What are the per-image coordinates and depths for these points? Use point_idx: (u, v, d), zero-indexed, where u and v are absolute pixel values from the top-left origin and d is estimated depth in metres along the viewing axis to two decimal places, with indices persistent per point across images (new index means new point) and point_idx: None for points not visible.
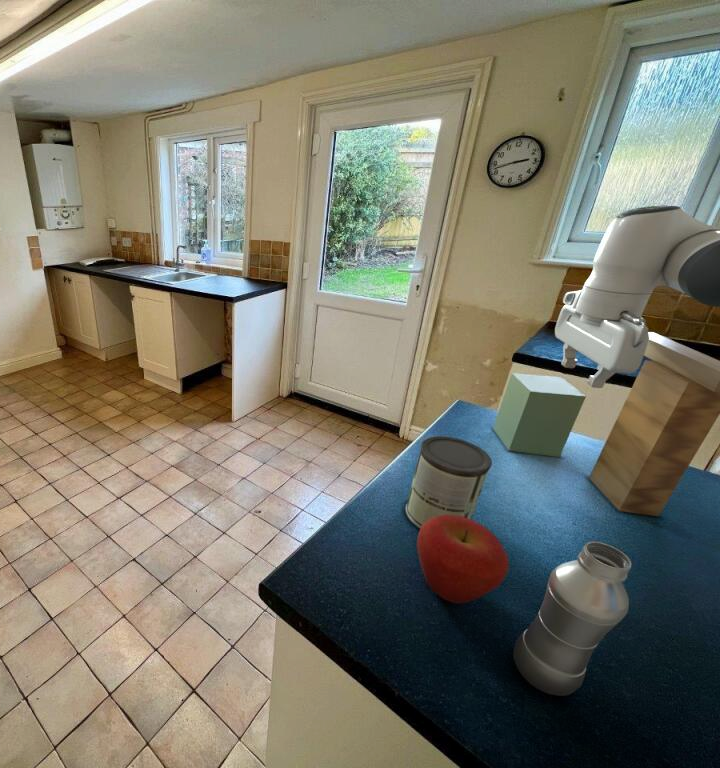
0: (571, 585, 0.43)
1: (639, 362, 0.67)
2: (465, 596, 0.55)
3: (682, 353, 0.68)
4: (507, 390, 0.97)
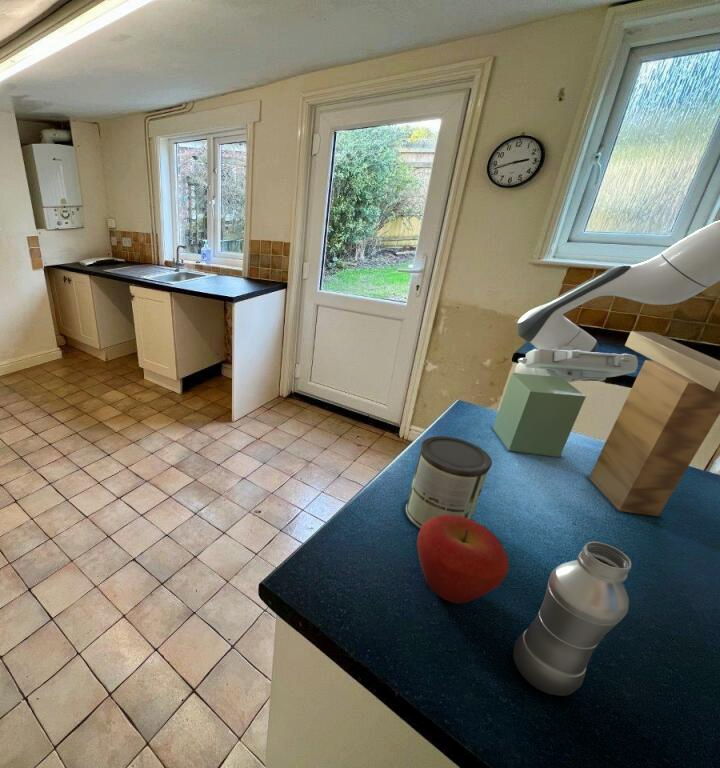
0: (571, 585, 0.43)
1: (531, 351, 0.98)
2: (465, 596, 0.55)
3: (682, 353, 0.68)
4: (507, 390, 0.97)
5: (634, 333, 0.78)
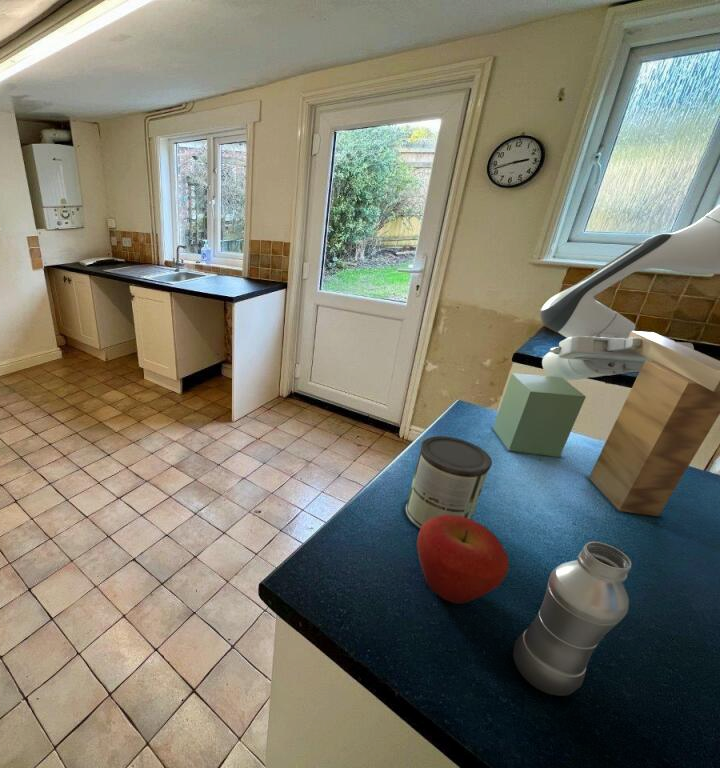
0: (571, 585, 0.43)
1: (567, 339, 0.85)
2: (465, 596, 0.55)
3: (682, 353, 0.68)
4: (507, 390, 0.97)
5: (634, 333, 0.78)
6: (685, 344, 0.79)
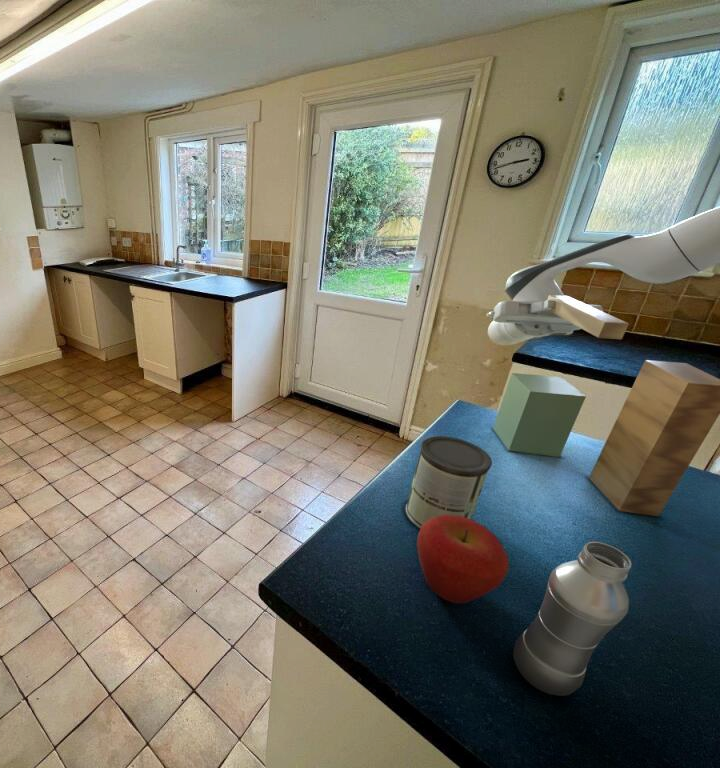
0: (571, 585, 0.43)
1: (498, 304, 0.98)
2: (465, 596, 0.55)
3: (581, 309, 0.81)
4: (507, 390, 0.97)
5: (551, 296, 0.91)
6: (595, 306, 0.91)
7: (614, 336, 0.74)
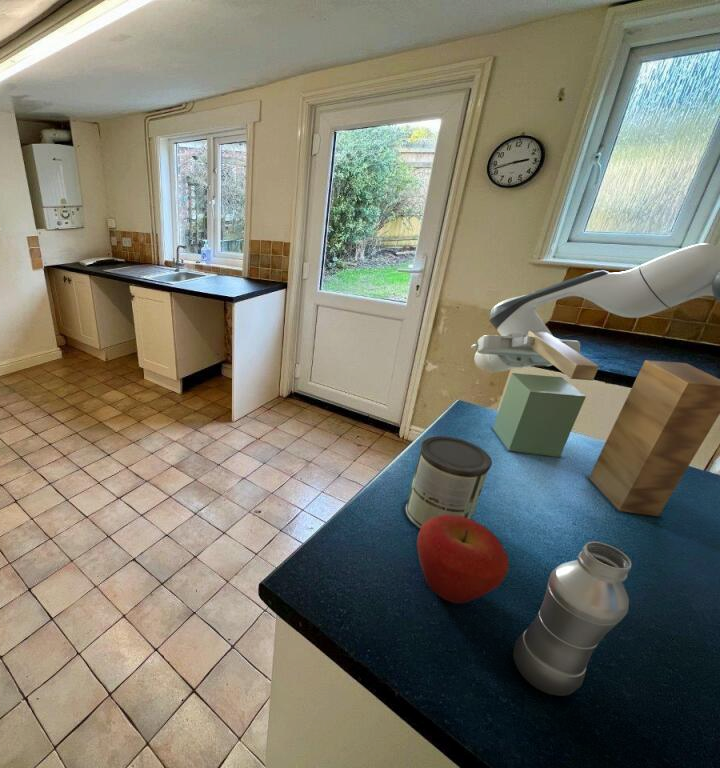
0: (571, 585, 0.43)
1: (481, 337, 1.02)
2: (465, 596, 0.55)
3: (556, 349, 0.86)
4: (507, 390, 0.97)
5: (530, 332, 0.96)
6: (573, 341, 0.96)
7: (585, 378, 0.79)
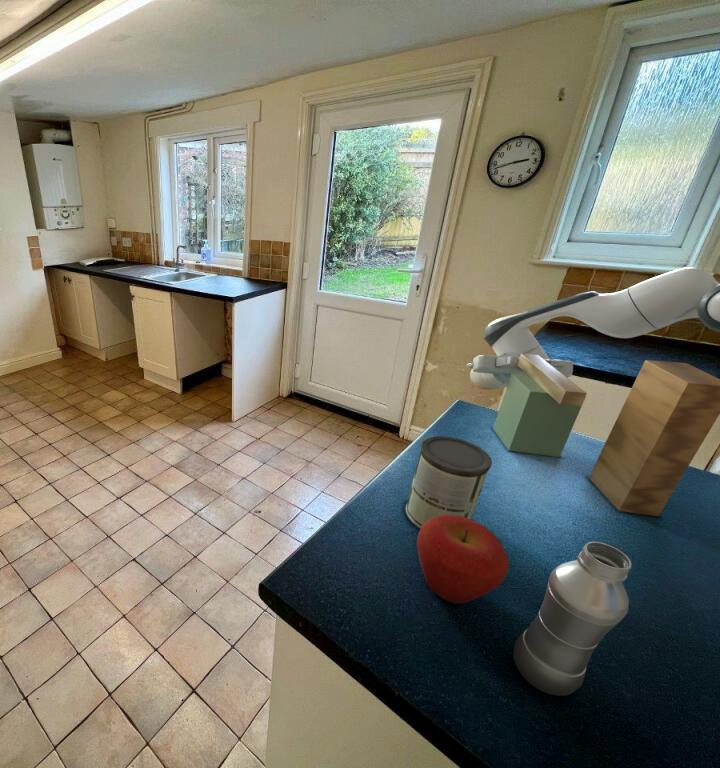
0: (571, 585, 0.43)
1: (476, 357, 1.04)
2: (465, 596, 0.55)
3: (546, 373, 0.88)
4: (507, 390, 0.97)
5: (522, 355, 0.98)
6: (565, 362, 0.98)
7: (574, 404, 0.81)
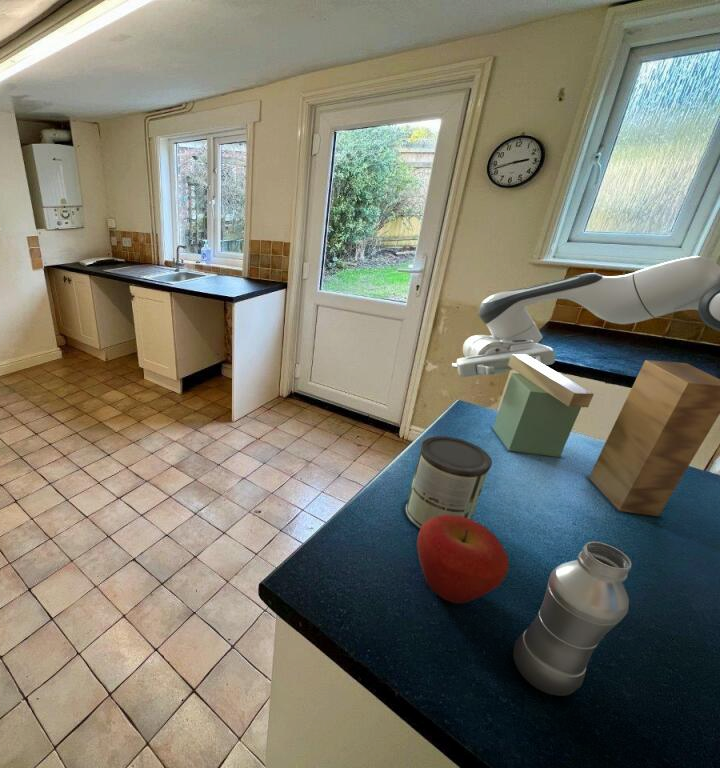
0: (571, 585, 0.43)
1: (457, 364, 1.07)
2: (465, 596, 0.55)
3: (546, 375, 0.87)
4: (507, 390, 0.97)
5: (513, 356, 0.98)
6: (546, 352, 0.99)
7: (581, 405, 0.80)
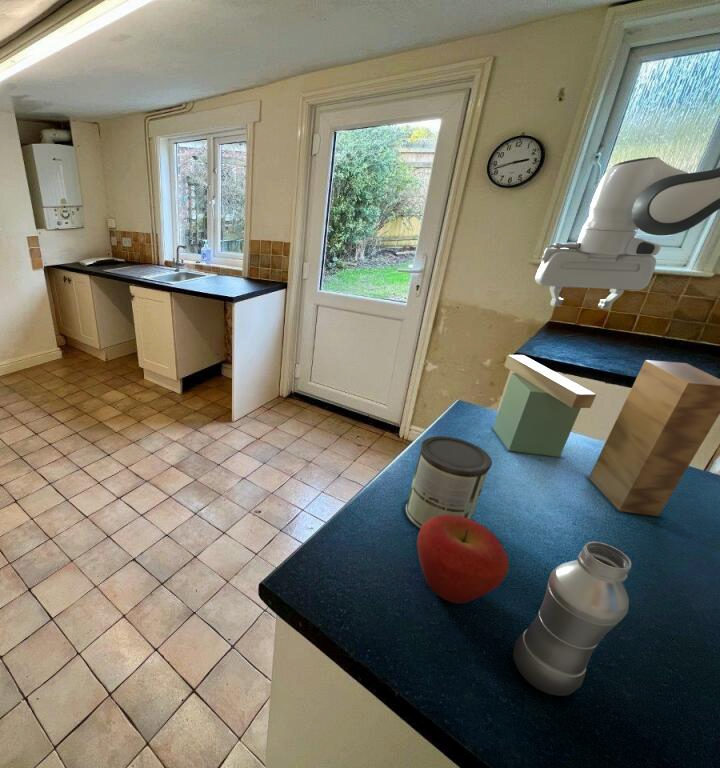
0: (571, 585, 0.43)
1: (542, 275, 0.93)
2: (465, 596, 0.55)
3: (546, 375, 0.87)
4: (507, 390, 0.97)
5: (510, 357, 0.97)
6: (634, 289, 0.90)
7: (584, 406, 0.80)
